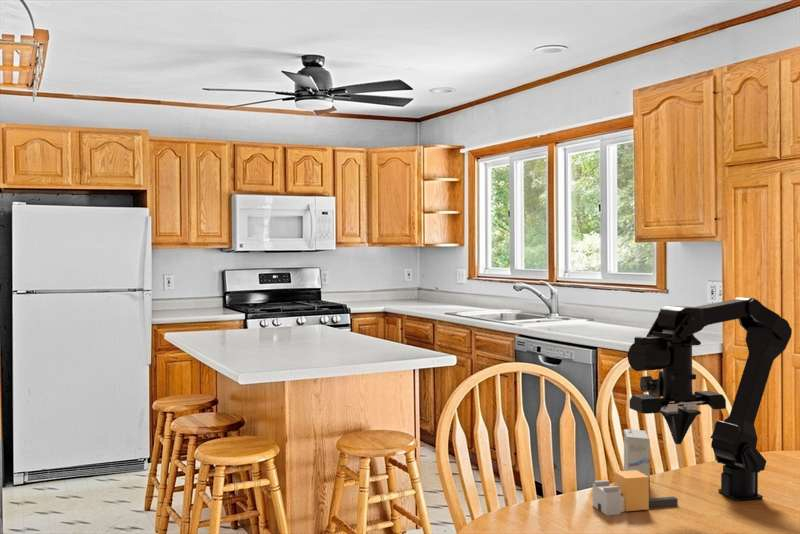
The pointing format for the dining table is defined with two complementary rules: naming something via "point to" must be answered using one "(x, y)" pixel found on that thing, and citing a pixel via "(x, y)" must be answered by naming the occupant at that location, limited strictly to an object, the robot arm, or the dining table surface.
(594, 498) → the grey i-beam piece
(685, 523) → the dining table surface
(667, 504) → the bar
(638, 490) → the notched orange cube
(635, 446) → the ink box
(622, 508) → the cream flat block
